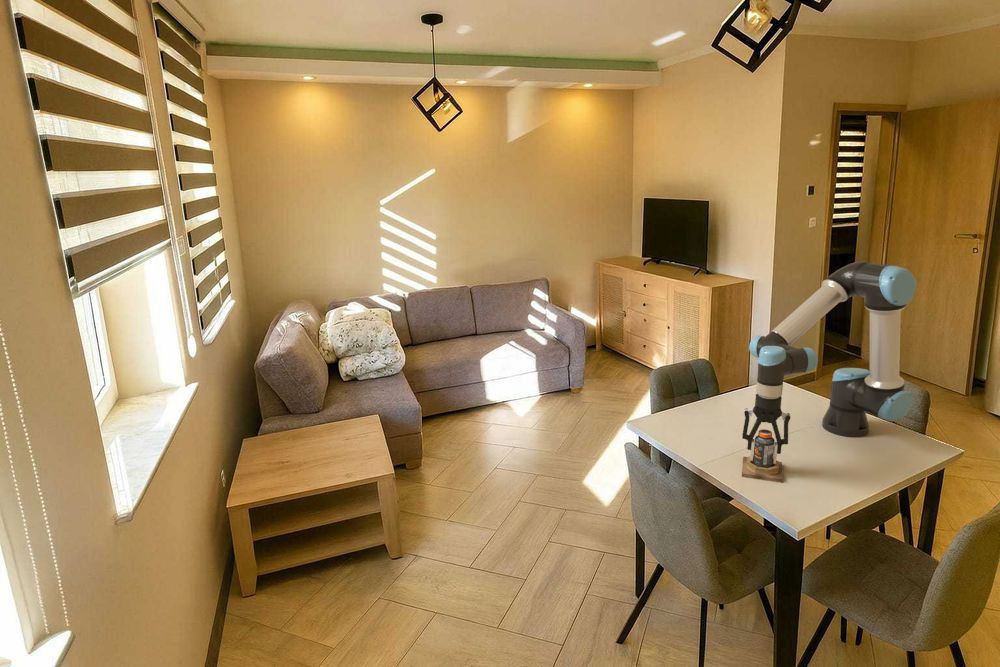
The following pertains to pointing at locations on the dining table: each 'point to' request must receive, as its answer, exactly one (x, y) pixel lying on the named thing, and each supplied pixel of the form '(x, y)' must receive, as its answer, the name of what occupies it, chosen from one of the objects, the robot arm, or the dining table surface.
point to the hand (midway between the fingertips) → (763, 460)
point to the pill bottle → (764, 448)
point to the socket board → (762, 471)
